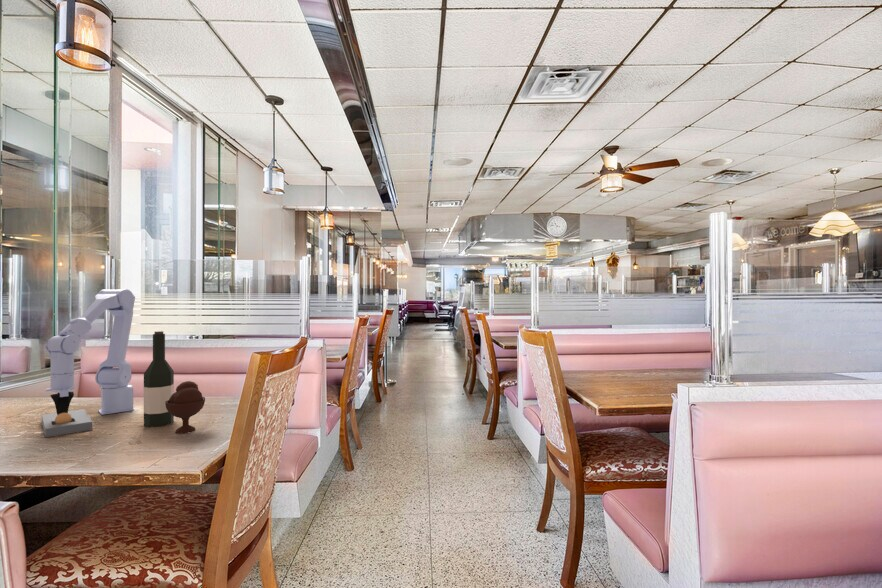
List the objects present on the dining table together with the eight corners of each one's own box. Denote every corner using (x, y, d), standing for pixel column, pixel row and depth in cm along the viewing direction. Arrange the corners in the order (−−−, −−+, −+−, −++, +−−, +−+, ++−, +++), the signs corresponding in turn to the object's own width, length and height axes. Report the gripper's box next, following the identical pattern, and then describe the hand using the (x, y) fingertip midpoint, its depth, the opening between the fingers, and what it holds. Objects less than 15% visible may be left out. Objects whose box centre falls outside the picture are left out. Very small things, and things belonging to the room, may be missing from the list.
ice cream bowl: (159, 431, 138) (159, 382, 138) (198, 423, 146) (198, 377, 146) (170, 438, 131) (170, 387, 131) (211, 430, 139) (211, 381, 139)
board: (84, 416, 156) (84, 409, 156) (92, 429, 140) (92, 421, 140) (41, 422, 148) (41, 414, 148) (45, 437, 132) (45, 428, 132)
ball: (72, 426, 140) (69, 423, 143) (73, 413, 140) (71, 410, 143) (55, 428, 137) (53, 424, 140) (56, 415, 137) (54, 412, 140)
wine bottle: (145, 429, 140) (145, 332, 141) (142, 423, 147) (142, 331, 147) (175, 424, 146) (175, 331, 146) (171, 418, 152) (171, 330, 152)
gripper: (44, 372, 146) (44, 414, 146) (47, 377, 135) (46, 423, 135) (72, 369, 151) (72, 410, 150) (77, 374, 140) (76, 418, 140)
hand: (62, 416), depth 143 cm, fingers closed
